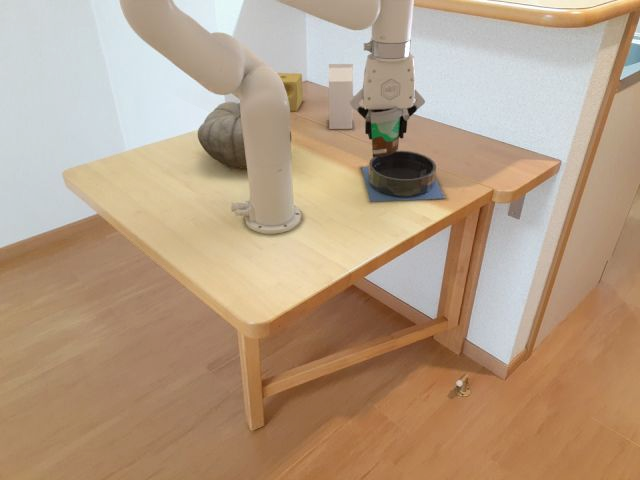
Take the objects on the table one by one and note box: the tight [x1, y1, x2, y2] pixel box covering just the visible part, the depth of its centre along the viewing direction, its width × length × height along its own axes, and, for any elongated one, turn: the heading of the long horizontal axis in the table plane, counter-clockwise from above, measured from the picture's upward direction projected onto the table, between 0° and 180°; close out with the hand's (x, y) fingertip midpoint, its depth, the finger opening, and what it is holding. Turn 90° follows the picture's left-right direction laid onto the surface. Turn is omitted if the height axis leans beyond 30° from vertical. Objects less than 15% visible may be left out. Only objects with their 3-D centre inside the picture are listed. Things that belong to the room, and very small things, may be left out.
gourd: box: [197, 101, 292, 170], centre depth 138 cm, size 25×25×17 cm
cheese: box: [276, 72, 304, 112], centre depth 174 cm, size 10×11×10 cm
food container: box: [371, 107, 404, 158], centre depth 108 cm, size 12×6×10 cm, turn 169°
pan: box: [368, 150, 437, 198], centre depth 129 cm, size 16×16×5 cm
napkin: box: [360, 166, 446, 203], centre depth 130 cm, size 18×18×1 cm
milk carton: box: [328, 63, 354, 130], centre depth 156 cm, size 7×7×19 cm
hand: (385, 135), depth 109 cm, fingers closed on food container, 5 cm apart
